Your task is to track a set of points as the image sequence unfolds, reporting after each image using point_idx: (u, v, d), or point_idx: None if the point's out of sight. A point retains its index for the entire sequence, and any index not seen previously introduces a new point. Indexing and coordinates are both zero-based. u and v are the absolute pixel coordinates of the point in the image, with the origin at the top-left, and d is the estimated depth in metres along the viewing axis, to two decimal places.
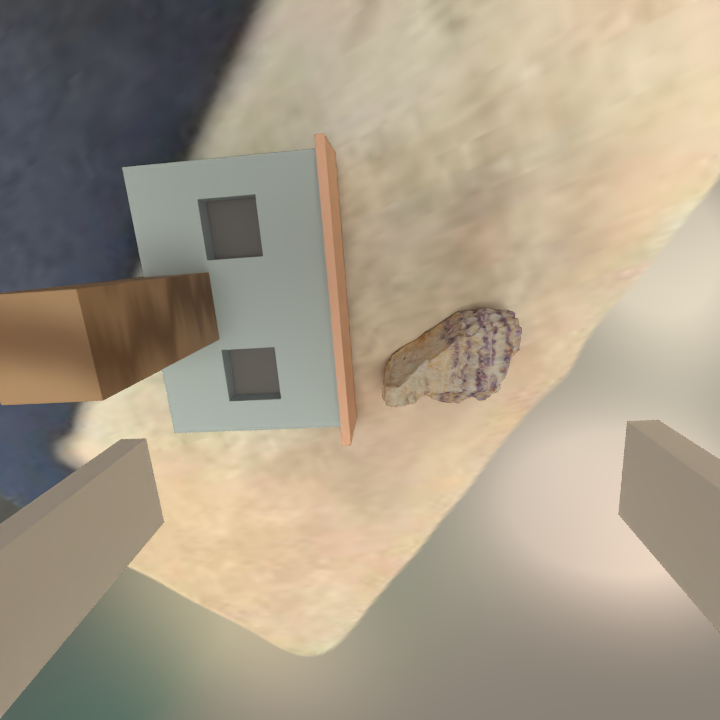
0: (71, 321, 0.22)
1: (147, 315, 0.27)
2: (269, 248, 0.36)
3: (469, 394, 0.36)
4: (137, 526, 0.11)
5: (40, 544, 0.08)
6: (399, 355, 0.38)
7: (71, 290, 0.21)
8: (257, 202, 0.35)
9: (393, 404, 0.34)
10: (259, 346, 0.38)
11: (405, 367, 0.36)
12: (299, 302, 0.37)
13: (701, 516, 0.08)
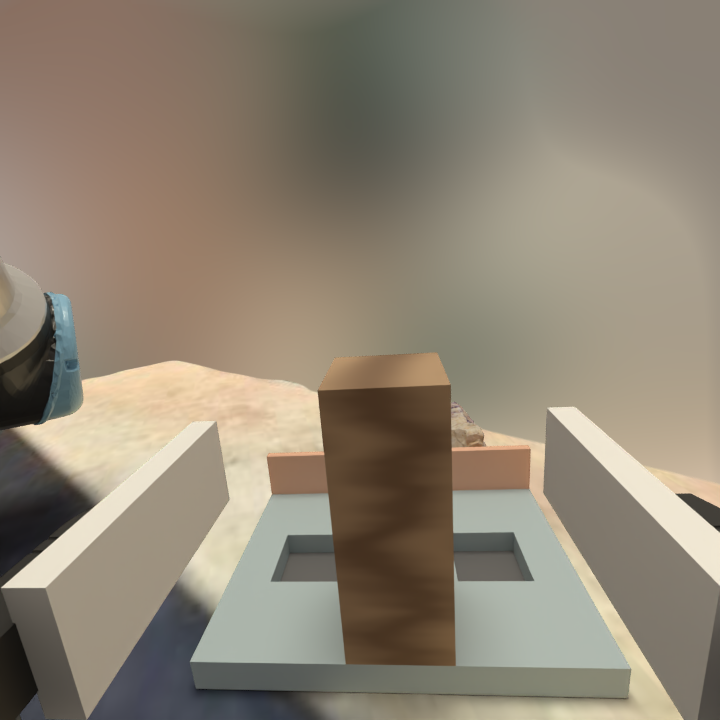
0: (361, 359, 0.24)
1: None
2: None
3: (469, 423, 0.49)
4: (211, 501, 0.12)
5: (148, 509, 0.09)
6: None
7: (335, 359, 0.25)
8: (295, 534, 0.34)
9: (480, 430, 0.42)
10: None
11: (453, 446, 0.44)
12: None
13: (589, 487, 0.09)
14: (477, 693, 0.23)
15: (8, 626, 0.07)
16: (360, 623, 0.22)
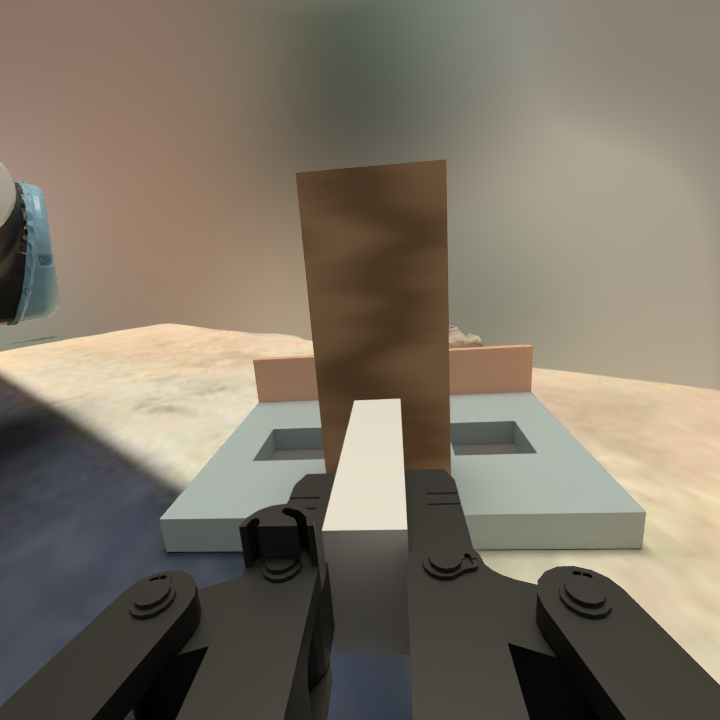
0: None
1: None
2: None
3: None
4: None
5: None
6: None
7: None
8: (281, 428, 0.32)
9: (479, 338, 0.40)
10: None
11: None
12: None
13: None
14: (475, 547, 0.21)
15: (323, 566, 0.07)
16: None
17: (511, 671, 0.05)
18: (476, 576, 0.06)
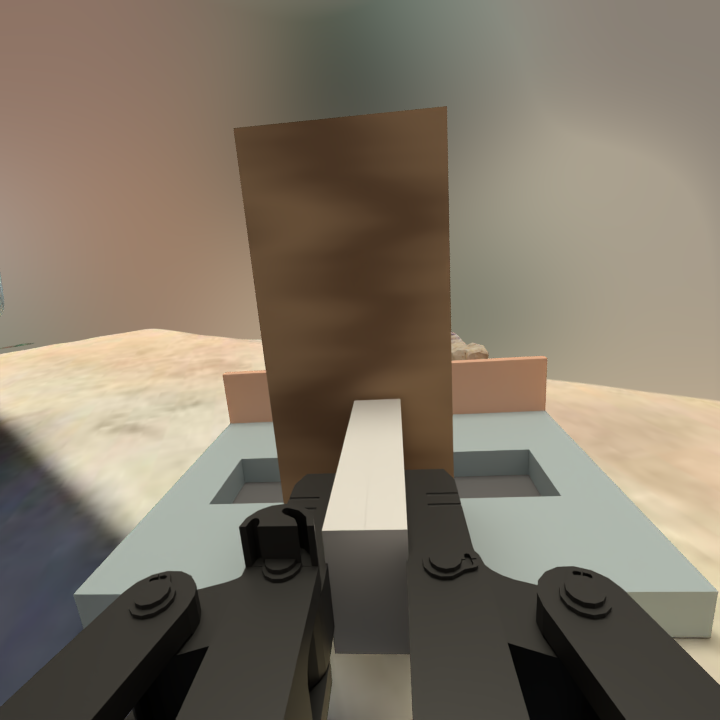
0: None
1: None
2: None
3: None
4: None
5: None
6: None
7: None
8: (251, 458, 0.27)
9: (483, 348, 0.35)
10: None
11: None
12: None
13: None
14: None
15: (323, 566, 0.07)
16: None
17: (511, 671, 0.05)
18: (476, 576, 0.06)
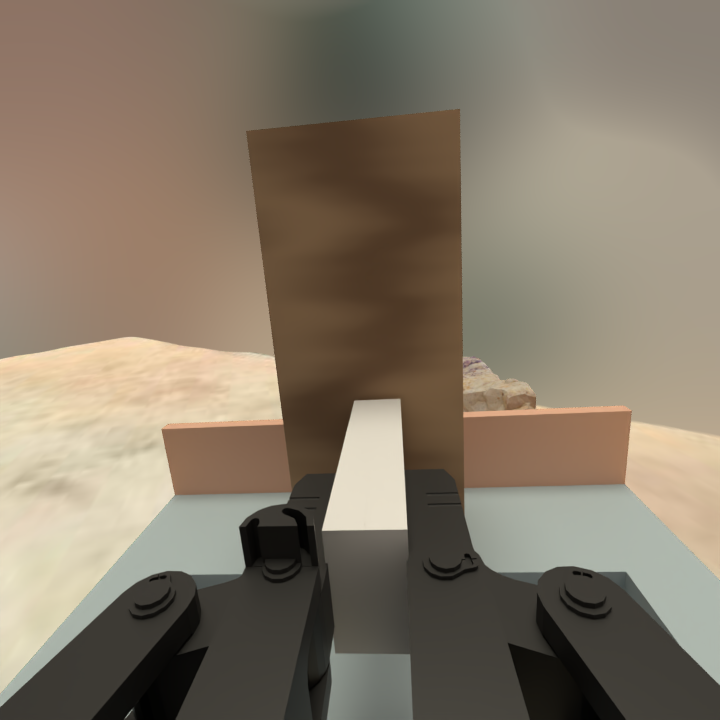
0: None
1: None
2: None
3: None
4: None
5: None
6: None
7: None
8: (188, 573, 0.18)
9: (529, 388, 0.25)
10: None
11: None
12: None
13: None
14: None
15: (322, 566, 0.07)
16: None
17: (511, 671, 0.05)
18: (476, 576, 0.06)
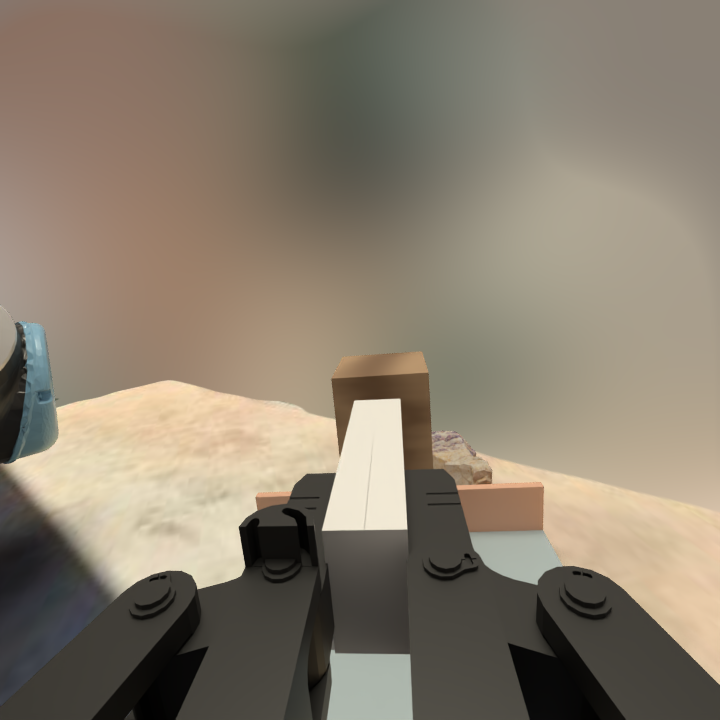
0: (363, 357, 0.31)
1: None
2: None
3: (471, 454, 0.45)
4: None
5: None
6: None
7: (342, 357, 0.32)
8: None
9: (487, 465, 0.38)
10: None
11: (458, 483, 0.40)
12: None
13: None
14: None
15: (323, 566, 0.07)
16: None
17: (511, 671, 0.05)
18: (476, 576, 0.06)
